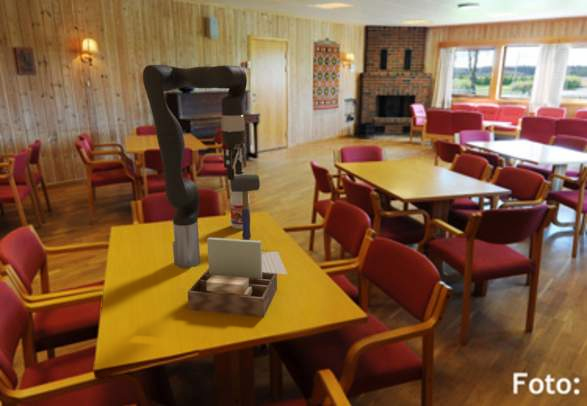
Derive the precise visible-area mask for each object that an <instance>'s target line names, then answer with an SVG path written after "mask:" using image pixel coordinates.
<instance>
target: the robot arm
mask: <svg viewBox="0 0 587 406" xmlns="http://www.w3.org/2000/svg"><path fill="white" fill-rule="evenodd" d="M247 82H248V78H247V73H246V71H245V69H244V68H243V67H242V66H239V65H224V64H223V65H215V66H209V65H208V66H207V65H206V66H194V67H189V68H183V67H182V68H181V67H176V66H173V65H172V66H171V65H168V64H148V65H146V66H145V67H144V68H143V71H142V83H143V86H144V89H145V93H146V96H147V100H148V103H149V106H150V110H151V114H152V117H153V118H152V120H153V123H154V128H155V135H156V139H157V144H158V147H159V153H160V157H161V158H160V159H161V163H162V169H163V175H164V186H165V194H166V198H167V201H168V203H169V204H170V206H172V207H173V208H176V212H174V214H173V215H172V225H173V226H172V227H173V228H172V229H173V236H174V237H173V239H174V241H172V251H173V254H172V255H173V264H174V266H177V267H178V268H184V269H189V268H190V269H191V268H195V267H197V266H199V265H200V263H201V251H200V236H199V225H198V224H199V223H198V221H199V220H198V217H199V214H200V192H199V189H198V186H197V184H196V183H195V182H194V181H193V180H190V179H184V178H183V169H182V167H183V166H182V164H183V159H184V155H185V149H186V144H185V138H184V133H183V128H182V126H181V124H180V122H179V121H178V119H177V118H176V116H175V115H174V114H173V112H172V111H171V109H170V107H169V106H168V103H167V100H166V97H165V93H164V92H170V91H174V90H178V89H182V88H193V89H228V93H227V95H226V96H224V97H222V99H221V102H220V103H221V104H220V105H221V107H220V109H221V120H220V121H221V123H220V124H221V142H222V144H224V145H226V147H227V149H223V168H224V169H226V171H227V172H226V177H227V180H228V181H230V180H234V179H235V177H234V176H235V175H234V171H235V172H236V174H238V175H241V174H242V170H243V162H244V161H245V153H244V151H245V150H244V149H245V148H244V144H245V143H246V133H245V131H246V128H245V117H244V99H245V95H246V89H247V84H248V83H247Z"/></svg>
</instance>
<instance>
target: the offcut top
mask: <svg viewBox="0 0 587 406" xmlns="http://www.w3.org/2000/svg"><path fill="white" fill-rule="evenodd" d="M206 287H207V291H215V292H227V293H238V294H245V292H246V290H247V289H248V287H249V278H244V277H232V276H220V275H212V276H211V277H210V278H209V279H208V280H207V281H206Z"/></svg>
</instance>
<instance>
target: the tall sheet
mask: <svg viewBox="0 0 587 406" xmlns="http://www.w3.org/2000/svg"><path fill="white" fill-rule="evenodd" d="M206 241H207V258H208V260H207V261H208V268H209V275H220V276H232V277H244V278H256V279H262V253H263V248H262V243H263V242H262V240H253V239H251V240H250V239H249V240H244V239H239V238H238V239H236V238H221V237H208V238H207V239H206Z"/></svg>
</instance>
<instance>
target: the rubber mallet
mask: <svg viewBox="0 0 587 406" xmlns="http://www.w3.org/2000/svg"><path fill="white" fill-rule="evenodd" d="M234 177H235V179H234V180H229V185H230V186H231V191H232V192H242V194H243V209H242V224H243V229H242V235H241V237H242V240H250V239H251V238H252V233H251V210H250V211H249V205H248V195H249V192H253V191H259V190H260V186H261V183H260V177H259V175H258V174H244V175H236V176H235V175H234ZM248 191H249V192H248Z"/></svg>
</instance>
